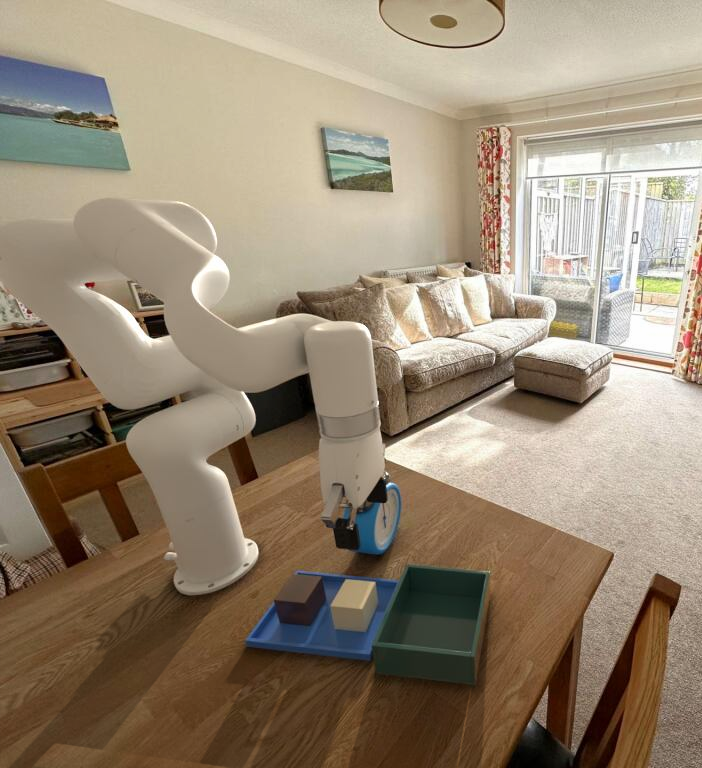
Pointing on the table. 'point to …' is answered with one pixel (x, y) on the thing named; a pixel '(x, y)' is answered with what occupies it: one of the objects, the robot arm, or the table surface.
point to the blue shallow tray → (324, 625)
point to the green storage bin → (434, 625)
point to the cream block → (354, 605)
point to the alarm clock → (378, 521)
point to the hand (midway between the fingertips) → (364, 522)
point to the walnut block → (300, 600)
